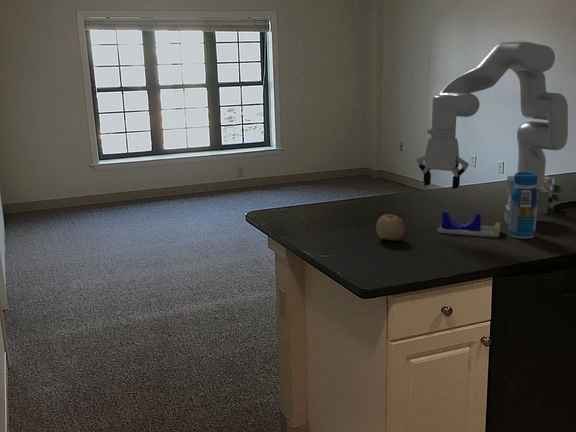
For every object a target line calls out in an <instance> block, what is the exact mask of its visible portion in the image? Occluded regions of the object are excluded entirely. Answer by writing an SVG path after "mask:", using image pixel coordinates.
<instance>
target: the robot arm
mask: <svg viewBox="0 0 576 432" xmlns="http://www.w3.org/2000/svg"><path fill="white" fill-rule="evenodd" d="M555 60H556V55H555V51H554V50H553V48H552V47H550V46H548V45H544V44H538V43H534V42H531V41H506V42H505V41H503V42H500V43H497V44H496V45H494V46H493V47H492V49H491V50H490V51H489V52H488V53H487V54H486V55H485V56H484V58H483V59H482V60H481V61H480V62H479V63H478V64H477V66H476V67H475V68H473V69H470V70H469V71H467V72H465V73H462V74H461V75H459V76H457V77H456V78H453V79H452V80H451V81H449V82H448V83H447V85H445V87H444V88H443V89H442V90H441V91H440V93H439V94H436V95H435V96H433V98H432V106H431V107H432V109H431V110H432V111H431V128H430V129H427V135H430V137H428V138H427V139H428V140H427V143H426V147H425V148H426V150H425V154H424V155H423V156H422V157H419V158H417V159H416V163H417V164H418V167H419V169H420V170H421V172H422V174H423V183H424V186H425V187H427V186H429V185H431V182H432V181H431V179H432V178H431V177H432V175H431V174H432V173H431V172H430V171H431V170H437V171H446V172H448V171H449V172H452V174H453V175H454V176H453V177H452V185H451V188H452V189H453V190H455V189H457V188H459V187H460V182H461V181H460V179H461V176H462V175H463V174H464V173H465V172H466V170H467V168H468V167H469V162H467V161H466V160H464V159H463V158H461V157H460V150H459V148H460V147H459V142H458V138H456V131H457V117H461V118H468V117H469V118H470V117H472V116H475V114H477V112H478V111H479V109H480V100H479V98H478V97H477V96H476V94H475V95H474V94H473V93H477V92H480V91H484V90H487V89H490V88H492V87H494V86H495V85H496V84H497V83H498V82H499V80H500V79H501V78H502V77H503V76H504V75H505V74H506V72H507V71H508V70H509V69H510V70H511V71H512V72H513V73H515V75H516V76H517V78H518V80H519V85H520V87H519V88H520V90H519V91H520V112H521V115H522V116H523V117H524V118H527V119H532V121H526V122H523V123H521V124H520V125H519V127H518V129H517V131H516V132H517V133H516V139H517V146H518V147H517V148H518V160H517V161H518V163H517V172H516V173H520V172H528V173H535V174H537V184H536V186H535V187H544V177H546V164H547V162H546V161H547V159H546V155H545V152H544V151H543V150H550V151H560V150H562V149H563V148H564V147H565V146H566V144H567V141H568V137H569V135H568V134H569V132H568V131H569V108H568V107H569V106H568V101H567V98H566V97H565V96H564V95H563V94H562V93H559V92H549V91H548V92H547V85H546V84H547V83H546V75H545V73H544V72H547V71H549V70H550V69H552V67H553V65H554V63H555ZM533 120H542V121H533ZM543 120H544V121H543ZM545 121H547V122H545ZM459 165H461V168H460V169H459Z"/></svg>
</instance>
